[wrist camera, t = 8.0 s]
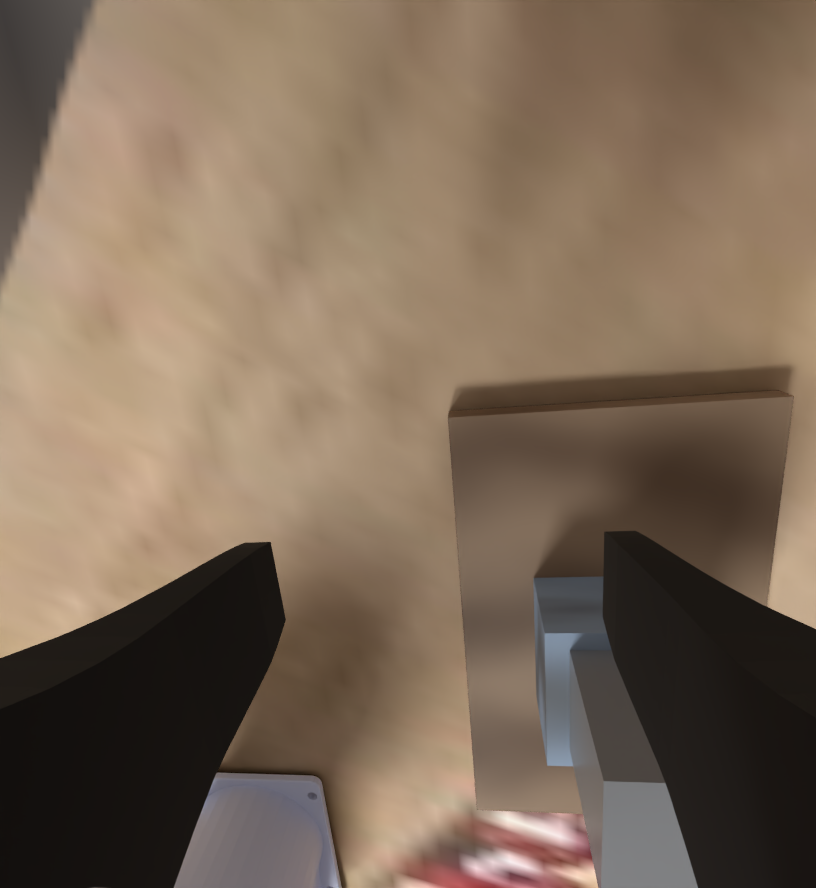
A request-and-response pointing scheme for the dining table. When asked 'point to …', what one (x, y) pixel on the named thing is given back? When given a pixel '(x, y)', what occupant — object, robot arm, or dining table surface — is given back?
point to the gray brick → (621, 783)
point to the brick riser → (591, 549)
